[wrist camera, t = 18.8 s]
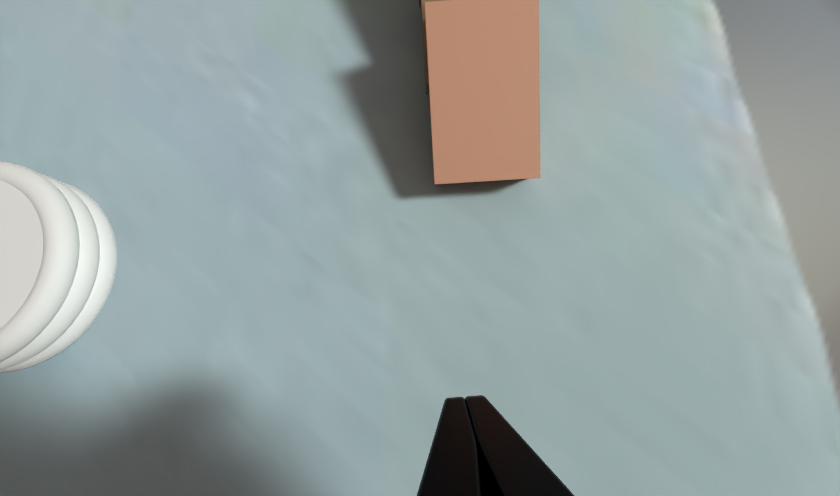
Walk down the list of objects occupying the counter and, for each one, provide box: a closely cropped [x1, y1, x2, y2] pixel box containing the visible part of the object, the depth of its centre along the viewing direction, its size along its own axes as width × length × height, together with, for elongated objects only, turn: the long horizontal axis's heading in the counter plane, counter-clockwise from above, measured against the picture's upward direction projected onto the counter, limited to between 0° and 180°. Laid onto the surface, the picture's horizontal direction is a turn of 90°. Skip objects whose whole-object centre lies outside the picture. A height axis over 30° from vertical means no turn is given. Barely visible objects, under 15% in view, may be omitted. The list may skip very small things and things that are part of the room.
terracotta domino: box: [425, 0, 540, 184], centre depth 19 cm, size 2×5×8 cm
